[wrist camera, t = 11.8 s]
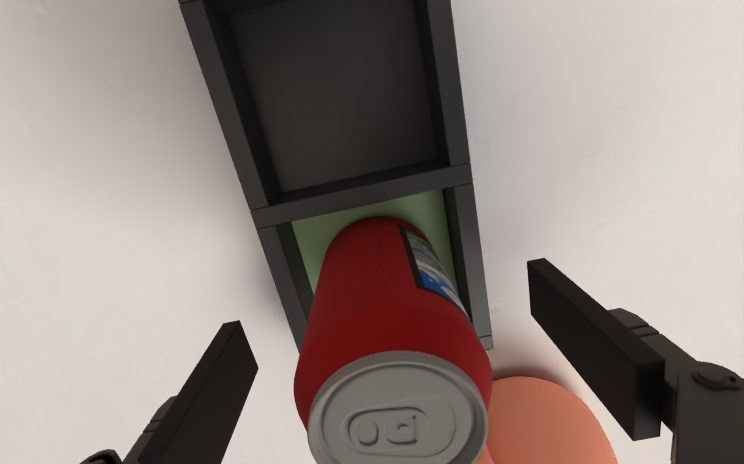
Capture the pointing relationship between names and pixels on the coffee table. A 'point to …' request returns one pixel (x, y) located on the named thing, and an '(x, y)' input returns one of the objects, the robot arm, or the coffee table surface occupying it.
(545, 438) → the teapot
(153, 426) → the robot arm
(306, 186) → the divided tray
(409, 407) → the beverage can
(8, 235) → the coffee table surface
